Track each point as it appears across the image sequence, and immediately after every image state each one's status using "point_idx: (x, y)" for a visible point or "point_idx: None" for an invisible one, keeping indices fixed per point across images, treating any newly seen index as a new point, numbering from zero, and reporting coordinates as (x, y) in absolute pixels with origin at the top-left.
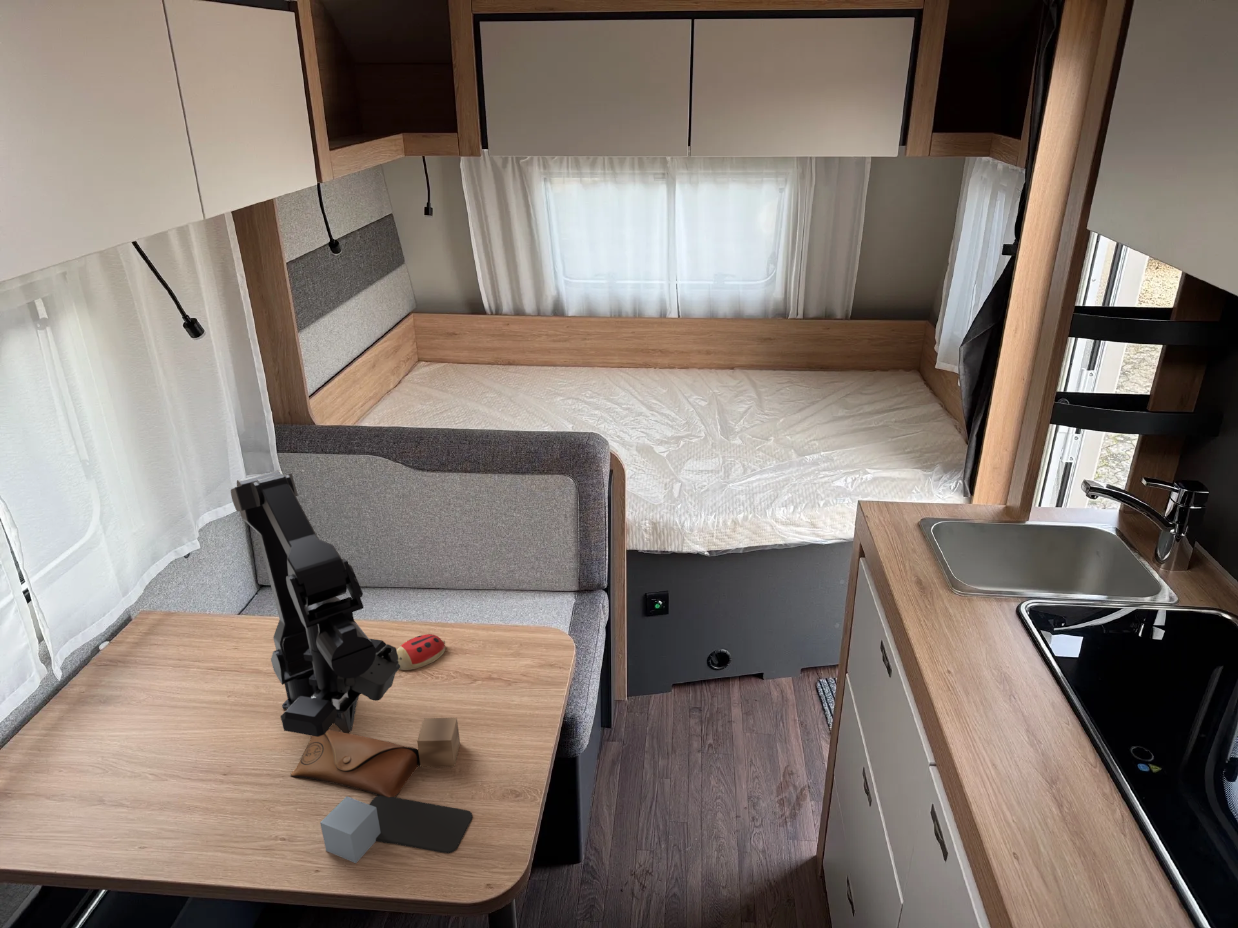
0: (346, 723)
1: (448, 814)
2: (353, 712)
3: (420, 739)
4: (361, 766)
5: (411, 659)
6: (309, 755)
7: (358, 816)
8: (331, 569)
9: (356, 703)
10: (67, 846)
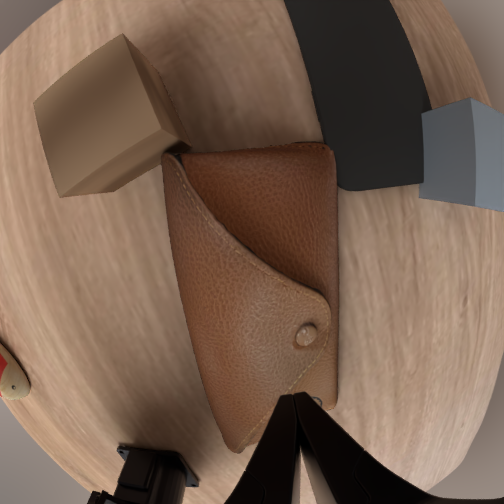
0: (347, 433)
1: (309, 4)
2: (275, 461)
3: (150, 121)
4: (304, 281)
5: (3, 369)
6: None
7: (500, 131)
8: None
9: (239, 496)
10: (451, 460)
